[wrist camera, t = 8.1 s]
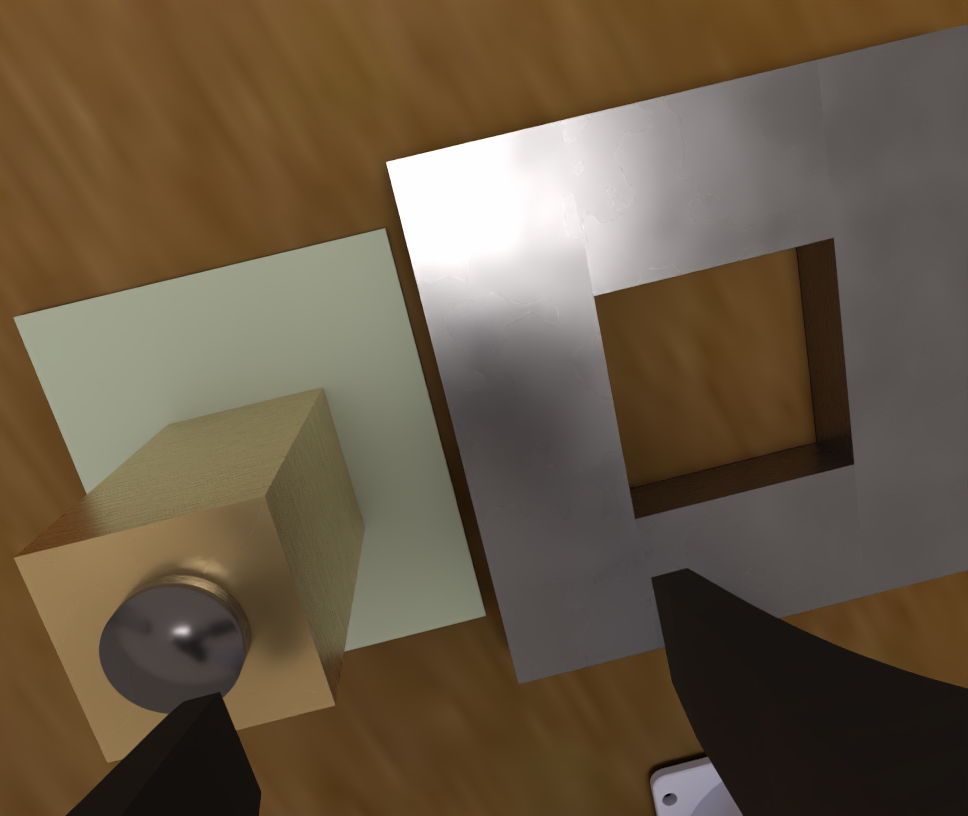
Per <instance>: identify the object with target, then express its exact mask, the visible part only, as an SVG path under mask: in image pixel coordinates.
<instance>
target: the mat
mask: <svg viewBox="0 0 968 816" xmlns="http://www.w3.org/2000/svg"><path fill="white" fill-rule="evenodd" d="M13 318H14V320H15V322H16V325H17V327H18V330H19V332H20V335H21V337H22V339H23V342H24V344H25V347H26V349H27V351H28V354H29V356H30V359H31V361H32V363H33V366H34V368H35V371H36V373H37V375H38V378H39V380H40V383H41V385H42V387H43V390H44V392H45V395H46V397H47V399H48V402H49V404H50V407H51V409H52V412H53V414H54V416H55V419H56V421H57V424H58V426H59V428H60V431H61V433H62V436H63V438H64V440H65V443H66V445H67V448H68V450H69V452H70V455H71V457H72V460H73V462H74V464H75V467H76V469H77V472H78V474H79V476H80V479H81V481H82V484H83V486H84V489H85V491H86V493H87V494H88V493H89V492H90V491H91V490H93V489H94V488H95V487H96V486H97V485H98V484H100V483H101V482H102V481H103V480H104V479H105V478H106V477H108V476H109V475H110V474H111V473H112V472H113V471H115V470H116V469H117V468H118V467H119V466H120V465H121V464H123V463H124V462H125V461H126V460H127V459H128V458H130V457H131V456H132V455H133V454H134V453H135V452H137V451H138V450H139V449H140V448H141V447H142V446H143V445H145V444H146V443H147V442H148V441H149V440H150V439H152V438H153V437H154V436H155V435H156V434H157V433H158V432H160V431H161V430H162V429H163V428H164V427H165V426H167V425H168V424H171V423H175V422H179V421H184V420H188V419H192V418H196V417H200V416H204V415H208V414H213V413H217V412H221V411H225V410H229V409H233V408H237V407H241V406H246V405H250V404H254V403H258V402H262V401H266V400H270V399H274V398H279V397H283V396H287V395H291V394H295V393H299V392H303V391H308V390H312V389H316V388H320V387H323V388H324V392H325V395H326V398H327V402H328V405H329V408H330V412H331V415H332V418H333V422H334V425H335V428H336V432H337V435H338V438H339V442H340V445H341V448H342V452H343V455H344V458H345V462H346V465H347V468H348V472H349V475H350V478H351V482H352V485H353V488H354V492H355V495H356V498H357V502H358V505H359V508H360V512H361V515H362V518H363V522H364V525H365V532H364V538H363V543H362V549H361V555H360V561H359V567H358V573H357V579H356V585H355V591H354V597H353V603H352V609H351V615H350V621H349V627H348V633H347V639H346V645H345V651H348V650H352V649H356V648H360V647H364V646H368V645H372V644H376V643H380V642H384V641H388V640H392V639H396V638H400V637H404V636H408V635H412V634H416V633H420V632H424V631H428V630H432V629H436V628H440V627H444V626H448V625H452V624H456V623H460V622H463V621H467V620H471V619H475V618H479V617H483V616H486V613H485V608H484V604H483V600H482V596H481V592H480V588H479V585H478V581H477V577H476V573H475V569H474V565H473V561H472V558H471V554H470V550H469V546H468V542H467V538H466V535H465V531H464V527H463V523H462V519H461V515H460V511H459V508H458V504H457V500H456V496H455V492H454V488H453V485H452V481H451V477H450V473H449V469H448V465H447V461H446V458H445V454H444V450H443V446H442V442H441V438H440V435H439V431H438V427H437V423H436V419H435V415H434V412H433V408H432V404H431V400H430V396H429V392H428V388H427V385H426V381H425V377H424V373H423V369H422V365H421V362H420V358H419V354H418V350H417V346H416V342H415V338H414V335H413V331H412V327H411V323H410V319H409V315H408V312H407V308H406V304H405V300H404V296H403V292H402V288H401V285H400V281H399V277H398V273H397V269H396V265H395V262H394V258H393V254H392V250H391V246H390V242H389V238H388V235H387V231H386V228H383V229H379V230H375V231H371V232H367V233H363V234H358V235H354V236H350V237H346V238H342V239H338V240H333V241H329V242H325V243H321V244H317V245H312V246H308V247H304V248H300V249H296V250H292V251H287V252H283V253H279V254H275V255H271V256H267V257H262V258H258V259H254V260H250V261H246V262H242V263H237V264H233V265H229V266H225V267H221V268H216V269H212V270H208V271H204V272H200V273H196V274H191V275H187V276H183V277H179V278H175V279H171V280H166V281H162V282H158V283H154V284H150V285H145V286H141V287H137V288H133V289H129V290H125V291H120V292H116V293H112V294H108V295H104V296H100V297H95V298H91V299H87V300H83V301H79V302H75V303H70V304H66V305H62V306H58V307H54V308H49V309H45V310H41V311H37V312H33V313H29V314H24V315H20V316H17V317H13Z"/></svg>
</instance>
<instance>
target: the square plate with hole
mask: <svg viewBox="0 0 968 816" xmlns="http://www.w3.org/2000/svg"><path fill="white" fill-rule="evenodd" d="M386 164H387V168H388V172H389V176H390V179H391V183H392V187H393V191H394V195H395V199H396V203H397V207H398V211H399V215H400V219H401V223H402V227H403V231H404V235H405V239H406V243H407V247H408V250H409V254H410V258H411V262H412V266H413V270H414V274H415V278H416V282H417V286H418V290H419V294H420V298H421V302H422V306H423V310H424V314H425V317H426V321H427V325H428V329H429V333H430V337H431V341H432V345H433V349H434V353H435V357H436V361H437V365H438V369H439V373H440V377H441V381H442V385H443V388H444V392H445V396H446V400H447V404H448V408H449V412H450V416H451V420H452V424H453V428H454V432H455V436H456V440H457V444H458V448H459V452H460V455H461V459H462V463H463V467H464V471H465V475H466V479H467V483H468V487H469V491H470V495H471V499H472V503H473V507H474V511H475V515H476V519H477V523H478V526H479V530H480V534H481V538H482V542H483V546H484V550H485V554H486V558H487V562H488V566H489V570H490V574H491V578H492V582H493V586H494V590H495V593H496V597H497V601H498V605H499V609H500V613H501V617H502V621H503V625H504V629H505V633H506V637H507V641H508V645H509V649H510V653H511V657H512V661H513V664H514V668H515V672H516V676H517V680H518V684H522V683H526V682H530V681H534V680H537V679H541V678H545V677H549V676H553V675H557V674H561V673H565V672H569V671H573V670H577V669H581V668H585V667H589V666H593V665H597V664H600V663H604V662H608V661H612V660H616V659H620V658H624V657H628V656H632V655H636V654H640V653H644V652H648V651H652V650H656V649H659V648H663V647H665V644H664V639H663V634H662V629H661V624H660V620H659V615H658V610H657V605H656V600H655V595H654V590H653V585H652V580H651V577H655V576H658V575H662V574H666V573H670V572H673V571H677V570H681V569H685V568H688V569H690V570H692V571H694V572H696V573H697V574H699V575H701V576H703V577H704V578H706V579H708V580H709V581H711V582H713V583H715V584H716V585H718V586H720V587H722V588H723V589H725V590H727V591H729V592H730V593H732V594H734V595H736V596H737V597H739V598H741V599H743V600H745V601H746V602H748V603H750V604H752V605H754V606H756V607H757V608H759V609H761V610H763V611H765V612H767V613H769V614H771V615H773V616H775V617H777V618H781V617H785V616H789V615H793V614H797V613H801V612H805V611H809V610H813V609H817V608H821V607H825V606H829V605H833V604H837V603H840V602H844V601H848V600H852V599H856V598H860V597H864V596H868V595H872V594H876V593H880V592H884V591H888V590H892V589H896V588H900V587H903V586H907V585H911V584H915V583H919V582H923V581H927V580H931V579H935V578H939V577H943V576H947V575H951V574H955V573H959V572H962V571H966V570H968V24H966V25H962V26H957V27H953V28H949V29H945V30H940V31H936V32H932V33H928V34H924V35H919V36H915V37H911V38H907V39H903V40H898V41H894V42H890V43H886V44H882V45H877V46H873V47H869V48H865V49H860V50H856V51H852V52H848V53H844V54H839V55H835V56H831V57H827V58H823V59H818V60H814V61H810V62H806V63H802V64H797V65H793V66H789V67H785V68H781V69H776V70H772V71H768V72H764V73H759V74H755V75H751V76H747V77H743V78H738V79H734V80H730V81H726V82H722V83H717V84H713V85H709V86H705V87H701V88H696V89H692V90H688V91H684V92H679V93H675V94H671V95H667V96H663V97H658V98H654V99H650V100H646V101H642V102H637V103H633V104H629V105H625V106H621V107H616V108H612V109H608V110H604V111H600V112H595V113H591V114H587V115H583V116H578V117H574V118H570V119H566V120H562V121H557V122H553V123H549V124H545V125H541V126H536V127H532V128H528V129H524V130H520V131H515V132H511V133H507V134H503V135H498V136H494V137H490V138H486V139H482V140H477V141H473V142H469V143H465V144H461V145H456V146H452V147H448V148H444V149H440V150H435V151H431V152H427V153H423V154H419V155H414V156H410V157H406V158H402V159H397V160H393V161H389V162H386ZM794 247H797V255H798V264H799V274H800V283H801V293H802V302H803V312H804V322H805V331H806V341H807V350H808V360H809V369H810V379H811V388H812V398H813V407H814V417H815V426H816V436H817V443H813V444H809V445H805V446H801V447H797V448H793V449H789V450H785V451H781V452H777V453H773V454H769V455H765V456H761V457H757V458H753V459H749V460H745V461H741V462H737V463H733V464H729V465H725V466H721V467H717V468H713V469H708V470H704V471H700V472H696V473H692V474H688V475H684V476H680V477H676V478H672V479H668V480H664V481H660V482H656V483H652V484H648V485H644V486H640V487H636V488H632V489H629V484H628V478H627V473H626V468H625V462H624V457H623V451H622V446H621V441H620V435H619V430H618V425H617V419H616V414H615V408H614V403H613V398H612V392H611V387H610V382H609V376H608V371H607V365H606V360H605V355H604V349H603V344H602V339H601V333H600V328H599V322H598V317H597V312H596V306H595V301H594V296H596V295H600V294H604V293H608V292H613V291H617V290H621V289H625V288H629V287H633V286H637V285H641V284H645V283H650V282H654V281H658V280H662V279H666V278H670V277H674V276H678V275H682V274H687V273H691V272H695V271H699V270H703V269H707V268H711V267H715V266H719V265H724V264H728V263H732V262H736V261H740V260H744V259H748V258H752V257H757V256H761V255H765V254H769V253H773V252H777V251H781V250H785V249H789V248H794Z"/></svg>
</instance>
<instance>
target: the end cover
mask: <svg viewBox="0 0 968 816" xmlns="http://www.w3.org/2000/svg"><path fill="white" fill-rule="evenodd" d="M364 532H365V525H364V522H363V518H362V515H361V512H360V508H359V505H358V502H357V498H356V495H355V492H354V488H353V485H352V482H351V478H350V475H349V472H348V468H347V465H346V462H345V458H344V455H343V452H342V448H341V445H340V442H339V438H338V435H337V432H336V428H335V425H334V422H333V418H332V415H331V412H330V408H329V405H328V402H327V398H326V395H325V392H324V388H323V387H320V388H316V389H312V390H308V391H303V392H299V393H295V394H291V395H287V396H283V397H279V398H274V399H270V400H266V401H262V402H258V403H254V404H250V405H246V406H241V407H237V408H233V409H229V410H225V411H221V412H217V413H213V414H208V415H204V416H200V417H196V418H192V419H188V420H184V421H179V422H175V423H171V424H168V425H167V426H165V427H164V428H163V429H162V430H161V431H160V432H158V433H157V434H156V435H155V436H154V437H153V438H152V439H150V440H149V441H148V442H147V443H146V444H145V445H143V446H142V447H141V448H140V449H139V450H138V451H137V452H135V453H134V454H133V455H132V456H131V457H130V458H128V459H127V460H126V461H125V462H124V463H123V464H121V465H120V466H119V467H118V468H117V469H116V470H115V471H113V472H112V473H111V474H110V475H109V476H108V477H106V478H105V479H104V480H103V481H102V482H101V483H100V484H98V485H97V486H96V487H95V488H94V489H93V490H91V491H90V492H89V493H88V494H87V495H86V496H84V497H83V498H82V499H81V500H80V501H79V502H78V503H76V504H75V505H74V506H73V507H72V508H71V509H69V510H68V511H67V512H66V513H65V514H64V515H63V516H61V517H60V518H59V519H58V520H57V521H56V522H54V523H53V524H52V525H51V526H50V527H49V528H48V529H46V530H45V531H44V532H43V533H42V534H41V535H39V536H38V537H37V538H36V539H35V540H34V541H32V542H31V543H30V544H29V545H28V546H27V547H26V548H24V549H23V550H22V551H21V552H20V553H19V554H17V555H16V556H15V557H14V559H15V561H16V564H17V566H18V568H19V570H20V572H21V575H22V577H23V579H24V581H25V583H26V586H27V588H28V590H29V592H30V594H31V596H32V599H33V601H34V603H35V605H36V607H37V610H38V612H39V614H40V616H41V618H42V621H43V623H44V625H45V627H46V629H47V632H48V634H49V636H50V638H51V640H52V642H53V645H54V647H55V649H56V651H57V653H58V656H59V658H60V660H61V662H62V664H63V667H64V669H65V671H66V673H67V675H68V677H69V680H70V682H71V684H72V686H73V688H74V691H75V693H76V695H77V697H78V699H79V702H80V704H81V706H82V708H83V710H84V713H85V715H86V717H87V719H88V721H89V723H90V726H91V728H92V730H93V732H94V734H95V737H96V739H97V741H98V743H99V745H100V748H101V750H102V752H103V754H104V756H105V759H106V761H107V763H108V762H112V761H116V760H120V759H124V758H125V757H126V756H127V755H128V754H129V753H130V752H131V751H132V750H133V749H134V748H135V747H136V746H137V745H138V744H139V743H140V742H141V741H142V740H143V739H144V738H145V737H146V736H147V735H148V734H149V733H150V732H151V731H152V730H153V729H154V728H155V727H156V726H157V725H158V724H159V723H160V722H161V721H162V720H163V719H164V718H165V717H166V716H167V715H168V714H169V713H171V712H172V711H173V710H174V709H175V708H176V707H177V706H179V705H180V704H181V703H182V702H183V701H187V700H191V699H194V698H198V697H202V696H206V695H209V694H213V693H217V692H221V695H222V697H223V700H224V702H225V705H226V707H227V710H228V712H229V714H230V717H231V719H232V722H233V724H234V727H235V729H236V730H239V729H243V728H247V727H251V726H255V725H259V724H263V723H267V722H271V721H275V720H279V719H283V718H287V717H291V716H295V715H299V714H303V713H307V712H311V711H315V710H319V709H323V708H327V707H331V706H335V705H336V699H337V693H338V687H339V681H340V675H341V669H342V663H343V657H344V651H345V645H346V639H347V633H348V627H349V621H350V615H351V609H352V603H353V597H354V591H355V585H356V579H357V573H358V567H359V561H360V555H361V549H362V543H363V538H364Z"/></svg>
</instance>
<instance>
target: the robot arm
mask: <svg viewBox="0 0 968 816" xmlns="http://www.w3.org/2000/svg"><path fill="white" fill-rule="evenodd" d="M651 580H652V585H653V590H654V595H655V600H656V605H657V610H658V615H659V620H660V624H661V629H662V634H663V639H664V644H665V649H666V654H667V659H668V664H669V669H670V673H671V678H672V683H673V685H674V687H675V690H676V692H677V694H678V697H679V699H680V701H681V704H682V706H683V708H684V710H685V713H686V715H687V717H688V719H689V722H690V724H691V726H692V728H693V730H694V733H695V735H696V737H697V739H698V741H699V742H700V744H701V746H702V748H703V749H704V751H705V753H706V754H707V756H708V757H705V758H701V759H698V760H694V761H690V762H686V763H682V764H678V765H674V766H670V767H667V768H663V769H660V770H658V771H656V772H655V773H654V774H653V775H652V777H651V779H650V785H651V790H652V795H653V800H654V805H655V810H656V815H657V816H968V689H967V688H963V687H960V686H956V685H952V684H949V683H945V682H941V681H938V680H934V679H931V678H927V677H924V676H921V675H917V674H914V673H911V672H908V671H905V670H902V669H899V668H896V667H893V666H890V665H888V664H885V663H882V662H879V661H876V660H874V659H871V658H868V657H865V656H862V655H860V654H857V653H854V652H852V651H849V650H847V649H844V648H842V647H839V646H837V645H835V644H832V643H830V642H828V641H826V640H823V639H821V638H819V637H817V636H815V635H812V634H810V633H808V632H806V631H803V630H801V629H799V628H797V627H795V626H793V625H791V624H789V623H787V622H785V621H783V620H781V619H779V618H777V617H775V616H773V615H771V614H769V613H767V612H765V611H763V610H761V609H759V608H757V607H756V606H754V605H752V604H750V603H748V602H746V601H745V600H743V599H741V598H739V597H737V596H736V595H734V594H732V593H730V592H729V591H727V590H725V589H723V588H722V587H720V586H718V585H716V584H715V583H713V582H711V581H709V580H708V579H706V578H704V577H703V576H701V575H699V574H697V573H696V572H694V571H692V570H690V569H688V568H685V569H681V570H677V571H673V572H670V573H666V574H662V575H658V576H655V577H651ZM668 793H672V794H671V795H670V796H668V797H664V796H665V795H666V794H668ZM260 800H261V790H260V788H259V785H258V783H257V781H256V778H255V776H254V773H253V771H252V768H251V766H250V763H249V761H248V759H247V756H246V754H245V751H244V749H243V746H242V744H241V741H240V739H239V737H238V734H237V732H236V729H235V727H234V724H233V722H232V719H231V717H230V714H229V712H228V710H227V707H226V705H225V702H224V700H223V697H222V695H221V692H217V693H213V694H209V695H206V696H202V697H198V698H194V699H191V700H187V701H183V702H182V703H181V704H180V705H179V706H177V707H176V708H175V709H174V710H173V711H172V712H171V713H169V714H168V715H167V716H166V717H165V718H164V719H163V720H162V721H161V722H160V723H159V724H158V725H157V726H156V727H155V728H154V729H153V730H152V731H151V732H150V733H149V734H148V735H147V736H146V737H145V738H144V739H143V740H142V741H141V742H140V743H139V744H138V745H137V746H136V747H135V748H134V749H133V750H132V751H131V752H130V753H129V754H128V755H127V756H126V757H125V758H124V759H123V760H122V761H121V762H120V763H119V764H118V765H117V766H116V767H115V768H114V769H113V770H112V771H111V772H110V773H109V774H108V775H107V776H106V777H105V778H104V779H103V780H102V781H101V782H100V783H99V784H98V785H97V786H96V787H95V788H94V789H93V790H92V791H91V792H90V793H89V794H88V795H87V796H86V797H85V798H84V799H83V800H82V801H81V802H80V803H79V804H77V805H76V806H75V807H74V808H73V809H72V810H71V811H70V812H69V813H68V814H67V815H66V816H259V809H260Z"/></svg>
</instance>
